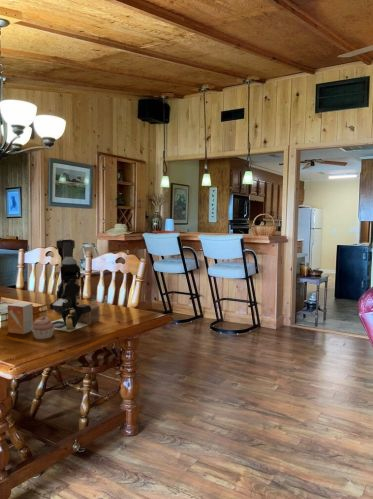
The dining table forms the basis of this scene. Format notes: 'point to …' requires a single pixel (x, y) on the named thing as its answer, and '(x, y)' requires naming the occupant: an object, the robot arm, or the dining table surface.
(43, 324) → the cupcake
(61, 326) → the board
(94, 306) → the housing
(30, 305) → the small box
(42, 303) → the dining table surface
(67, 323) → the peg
